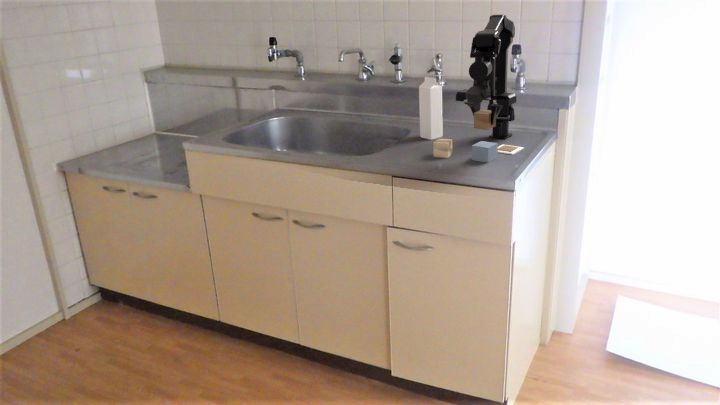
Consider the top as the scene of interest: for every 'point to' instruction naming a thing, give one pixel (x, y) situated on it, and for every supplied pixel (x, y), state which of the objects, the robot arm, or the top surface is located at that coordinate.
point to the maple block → (442, 148)
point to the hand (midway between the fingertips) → (484, 124)
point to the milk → (430, 109)
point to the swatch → (509, 149)
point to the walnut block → (483, 120)
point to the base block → (484, 151)
